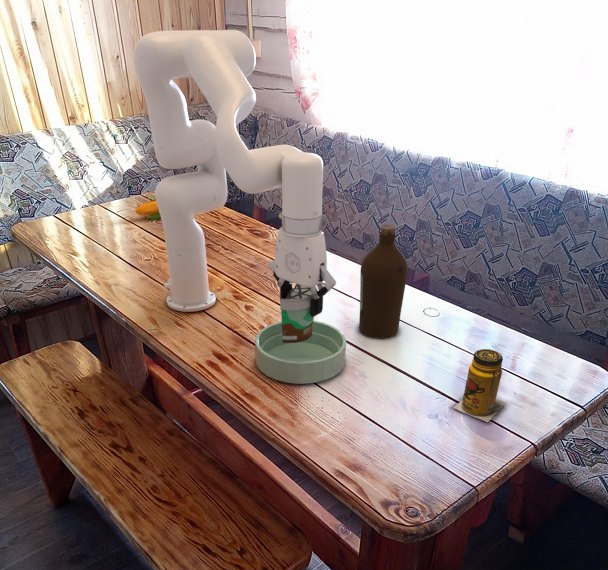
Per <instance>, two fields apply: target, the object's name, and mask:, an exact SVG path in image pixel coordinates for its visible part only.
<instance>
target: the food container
mask: <svg viewBox="0 0 608 570" xmlns="http://www.w3.org/2000/svg"><path fill="white" fill-rule="evenodd" d="M311 298H313V295H312V292H311V290H310V287H305V286H301V285H298V284H295V285H294V287H292V290H290V292H289V293H288V295H287V297H286V298H285V299H281V303H279V304H280V306H279V310H280V313H281V321H282V340H283V343H297V342H302V341H305V340H307V339H309V338H310V337H311V336H312V330H313V321H315V320H314V319H315V316H314V317H312V316H311V315H310V306H311Z"/></svg>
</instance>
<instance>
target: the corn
mask: <svg viewBox="0 0 608 570" xmlns="http://www.w3.org/2000/svg"><path fill="white" fill-rule="evenodd" d="M148 200H149V201H146V202H144V203H142V204H140V205H138V206H137V207H136V209H134V212H135V214H137V215H138V216H147V219H149V220H158V219H161V215H160V212H159V209H158V206H157V202H156V198H155V195H154V196H151V197H148Z"/></svg>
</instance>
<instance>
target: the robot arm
mask: <svg viewBox="0 0 608 570" xmlns="http://www.w3.org/2000/svg"><path fill="white" fill-rule="evenodd" d="M254 47H255V46H254V44H253V43H252V42H251V40H250V38H249V37H248V36H247V34H246V33H244V32H243V31H240V30H238V29H213V30H212V29H190V30H189V29H187V30H185V29H183V30H180V29H179V30H177V29H176V30H174V29H173V30H172V29H171V30H158V31H153V32H149V33H146V34H144V35H143V36H141V37H140V38H139V39H138V41H137V43H136V45H135V48H134V54H133V62H134V70H135V73H136V76H137V81H138V83H139V85H140V88H141V90H142V93H143V96H144V99H145V102H146V108H147V114H148V120H149V127H150V132H151V138H152V144H153V149H154V154H155V158H156V160H157V162H158V164H159V165H160V166H161V167H162V168H163V169H167V170H179V169H185V168H190V167H196V166H197V170H196V171H192V172H185V173H179V174H175V175H174V174H173V175H170V176H167V177H165V178H163V179H161V180H160V181H159V182H158V183H157V185H156V187H155V191H154V196H155V198H154V199H156V202H157V206H158V209H159V212H160V215H161V218H160V219H161V223H162V228H163V234H164V235H163V236H164V241H165V242H164V243H165V250H166V257H167V267H168V274H169V275H168V276H169V278H167V282H164V284H163V287H164V288H165V289H167V290H169V295H168V296H167V297H166V299H165V300H166V305H167V306H168V307H169V308H170V309H171V310H174V311H178V312H181V313H182V312H183V313H194V312H200V311H204V310H207V309H210V308H211V307H213V306H214V305H215V303H216V301H217V298H216V294H215V293H214V292H212V291H210V286H209V277H208V276H209V275H208V263H207V251H206V250H207V249H206V240H205V239H206V238H205V234H204V231H203V229H202V227H201V226H200V224H198V222H197V220H196V219H195V217H196V216H200V215H202V214H205V213H210V212H214V211H218V210H220V209H222V208H223V207H224V206H225V204H226V203H227V200H228V182H227V175H228V176H229V178H230V179H231V180H232V182H233V184H235V186H237V188H238V189H239V190H241V191H242V192H244V193H245V194H250V195H255V194H260V193H264V192H268V191H273V190H279V189H281V211H280V212H279V214H278V219H279V220H281V227H279V229H278V231H277V237H276V244H275V251H274V253H275V254H274V259H273V260H272V261H270V262H269V263H268V266H269V269H270V270H271V273H273V274H272V275H273V277H274V279H275V281H276V284H277V287H279V299H280V303H281V299H285V298H286V297H287V295H288V293H289V292H290V290H292V289H293V284H295V285H296V284H298V285H301V286H305V287H310V290H311V292H312V295H313V298H311V306H310V315H311V316H312V317H314V318H315V317H316V316H318V315H319V314H321V313H322V312H323V310H324V296H325V295H327V294H328V293H329V292H330V291H331V290H332V289H333V288H334V287H335V286H336V285H337V281H336V279H335V278H334V276H332V274H331V273H330V272H329V270H328V269H327V268H328V267H327V265H328V264H327V263H328V261H327V245H326V237H325V233H324V232H323V231H322V226H323V224H322V222H323V191H324V187H323V186H324V162H323V159H322V157H321V156H320V155H319V154H316V153H314V152H304V151H303V150H300V149H298V148H297V147H296V146H293V145H291V144H277V145H272V146H264V147H258V148H253V149H248V147H247V146H246V145H245V143H244V141H243V139H242V138H241V135H240V134H239V132H238V130H237V126H238V125H239V124H240V123H242V122H244V120H245V119H246V118H247V117H248V116H249V115H250V114H251V112H252V111H253V110H254V107H255V105H256V102H257V96H256V92H255V90H254V88H253V87H252V85H251V84H250V82H249V81H248V79H247V78H248V77H249V76H251V74H252V73H253V72H254V70H255V67H256V61H257V60H256V59H257V58H256V50H255V48H254ZM176 79H193V80H194V82H195V83H196V85H197V86H198V88H199V90H200V91H201V93H202V95H203V96H204V98H205V99H206V101H207V102H208V105H209V106H210V107H211V108H210V109H212V111H213V112H214V114H215V116H216V122H215V124H214V123H212V122H211V121H209V120H207V119H203V118H202V119H192V120H190V119H189V113H188V105H187V100H186V97H185V95H184V94H183V92H182V90H181V89H180V87H179V86H178V84H177V83H176V82H175V81H174V80H176ZM323 282H324V283H325V284H324V283H323ZM280 303H279V304H280Z"/></svg>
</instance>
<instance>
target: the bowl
mask: <svg viewBox="0 0 608 570" xmlns="http://www.w3.org/2000/svg"><path fill="white" fill-rule="evenodd" d="M254 347H255V349H254V350H255V365H256V367H257V368H258V370H259V371H260V372H261V373H262V374H264V375H265V376H266V377H268V378H271V379H273V380H275V381H279V382H284V383H288V384H298V385H303V384H314V383H320V382H324V381H326V380H329V379H331V378H334V377H335V376H336V375H338V374H340V373H341V372H342V370H343V368H345V363H346V353H347V351H346V350H347V339H346V336H345V333H343V332H342V331H341V330H340V329H338V328H336V327H335V326H334V325H331V324H329V323H326V322H322V321H316V320H313V330H312V336H311V337H310V338H309V339H307V340H305V341H302V342H297V343H283V340H282V320H281V321H277V322H273V323H272V324H268V325H267V326H265V327H263V328H262V329H261V330H260V331H259V332H257V334H256V337H255V339H254Z"/></svg>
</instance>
